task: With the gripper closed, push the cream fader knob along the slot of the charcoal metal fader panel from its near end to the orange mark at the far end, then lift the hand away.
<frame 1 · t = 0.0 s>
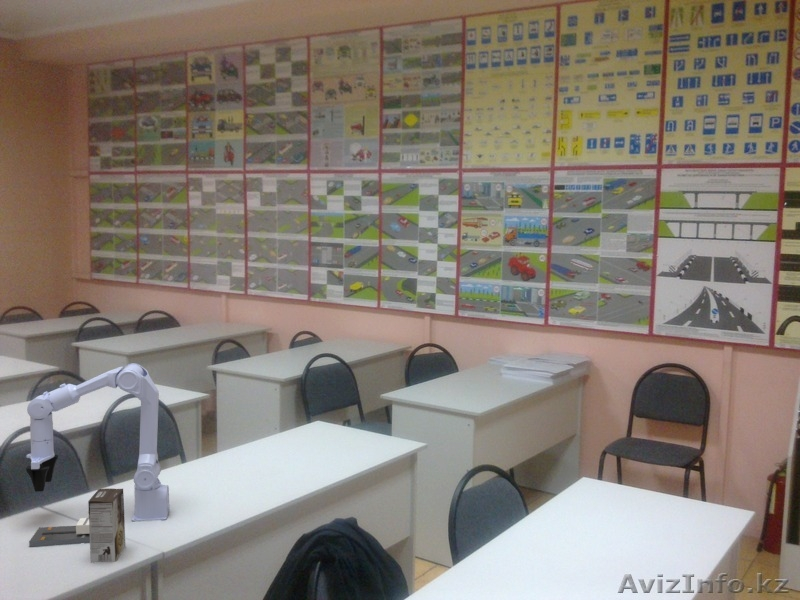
hand: (43, 486, 212), 10 cm above the table, tool pointing down, fingers open, 7 cm apart
fader knob: (86, 525, 202), point 3 cm above the table, slide at -5.0 cm
coffee box: (108, 556, 191), on the table
fader panel: (66, 537, 202), on the table
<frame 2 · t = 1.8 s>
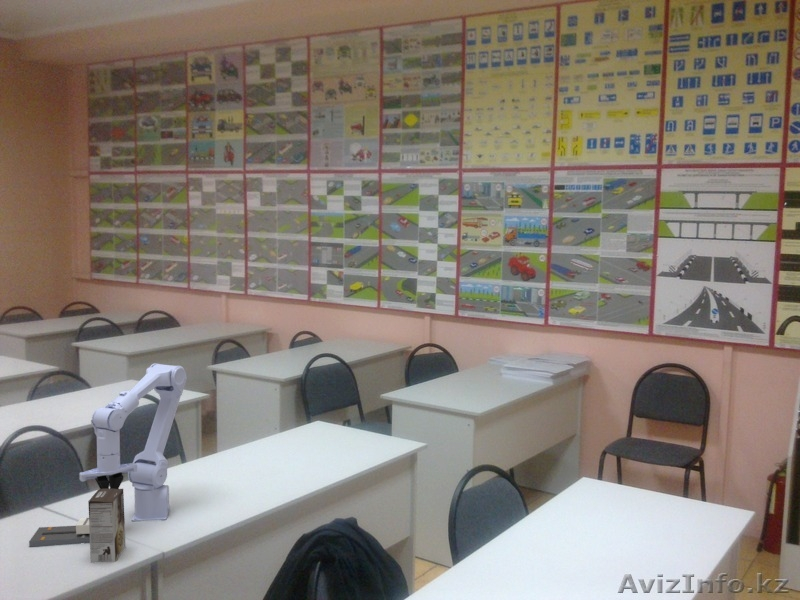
hand: (109, 501, 203), 9 cm above the table, tool pointing down, fingers closed
nothing on the table moved.
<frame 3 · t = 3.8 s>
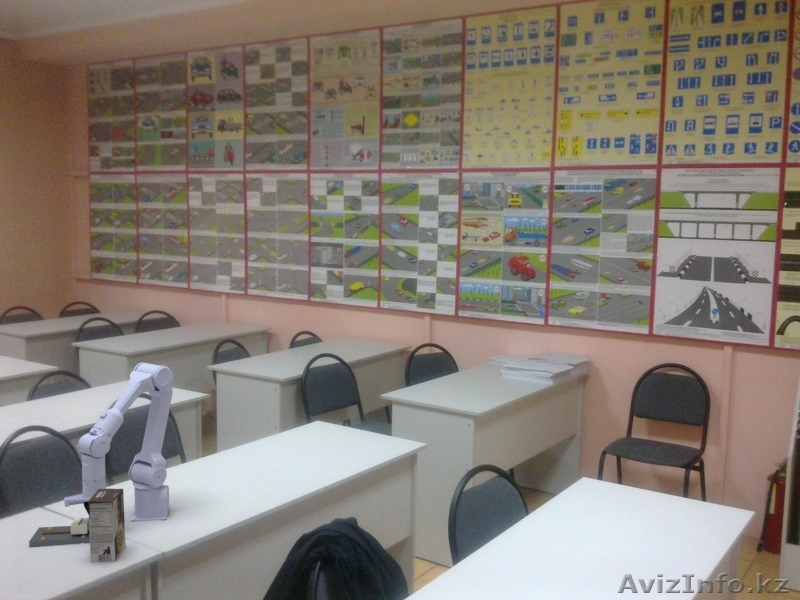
hand: (94, 527, 203), 2 cm above the table, tool pointing down, fingers closed
fader knob: (80, 525, 202), point 3 cm above the table, slide at -3.7 cm, touching gripper
everything else where it was.
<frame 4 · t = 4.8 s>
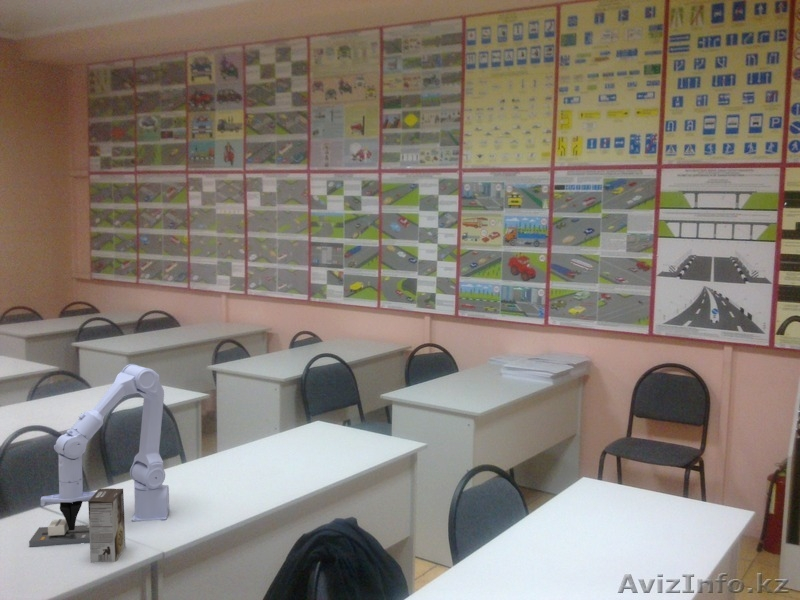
hand: (71, 528, 202), 2 cm above the table, tool pointing down, fingers closed
fader knob: (58, 526, 201), point 3 cm above the table, slide at 1.9 cm, touching gripper
everything else where it was.
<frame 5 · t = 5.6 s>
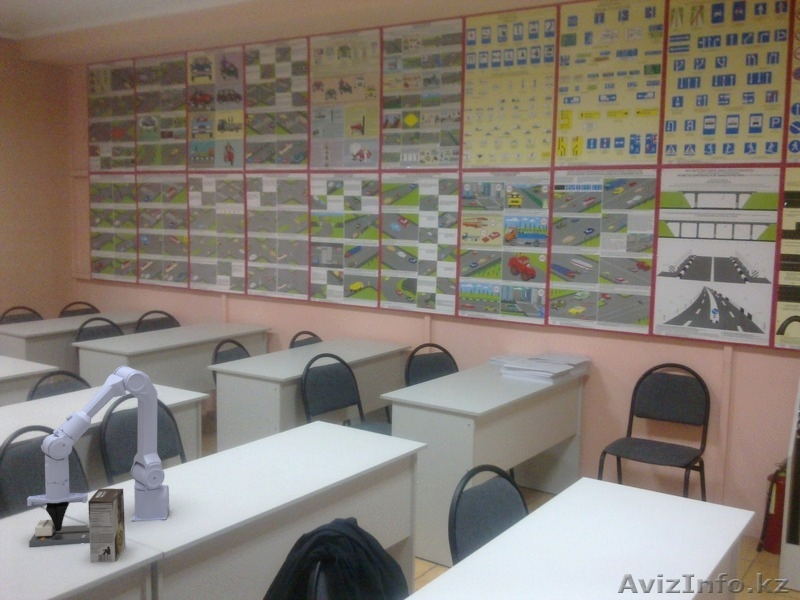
hand: (58, 529, 201), 2 cm above the table, tool pointing down, fingers closed
fader knob: (46, 527, 200), point 3 cm above the table, slide at 5.1 cm, touching gripper
everything else where it was.
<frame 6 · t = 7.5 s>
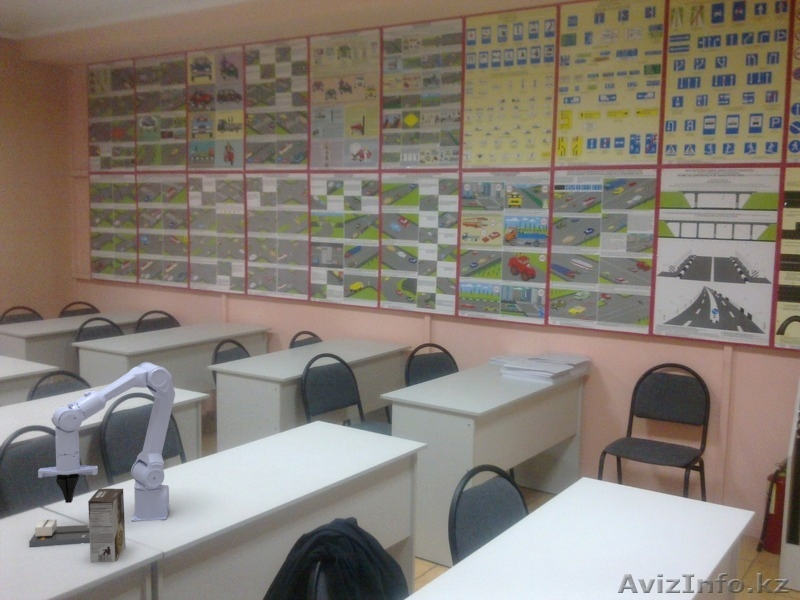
hand: (69, 501, 203), 9 cm above the table, tool pointing down, fingers closed
fader knob: (46, 527, 200), point 3 cm above the table, slide at 5.1 cm
everything else where it was.
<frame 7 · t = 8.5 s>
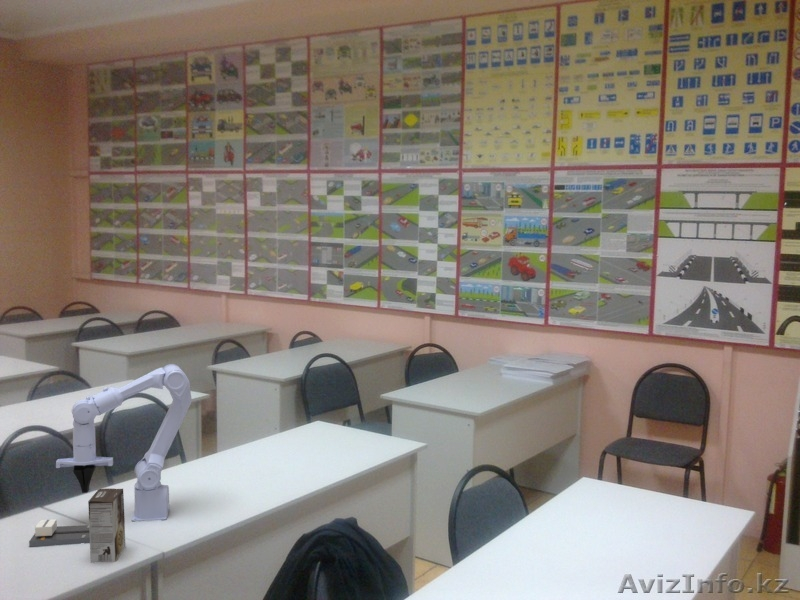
hand: (85, 491, 210), 9 cm above the table, tool pointing down, fingers closed
nothing on the table moved.
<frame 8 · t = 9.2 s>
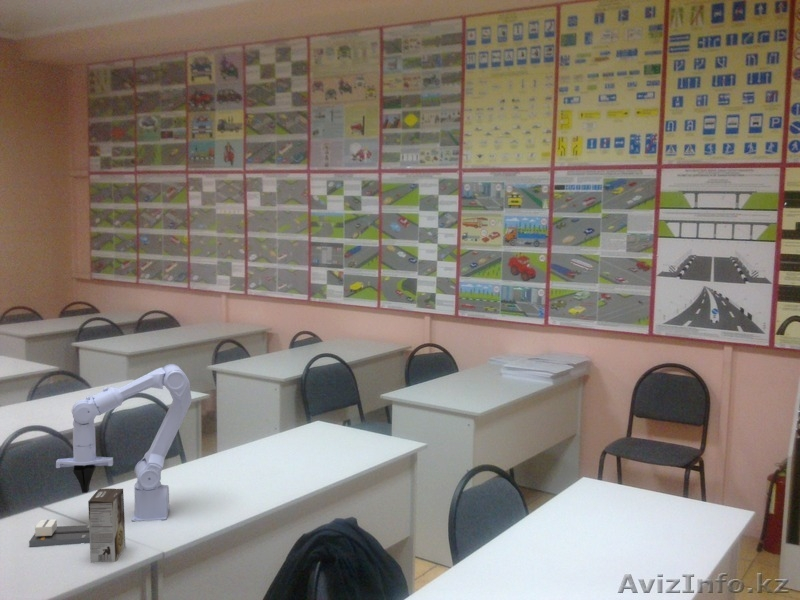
hand: (85, 491, 210), 9 cm above the table, tool pointing down, fingers closed
nothing on the table moved.
at the end: fader knob slide at 5.1 cm; coffee box moved 0.2 cm from its start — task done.
